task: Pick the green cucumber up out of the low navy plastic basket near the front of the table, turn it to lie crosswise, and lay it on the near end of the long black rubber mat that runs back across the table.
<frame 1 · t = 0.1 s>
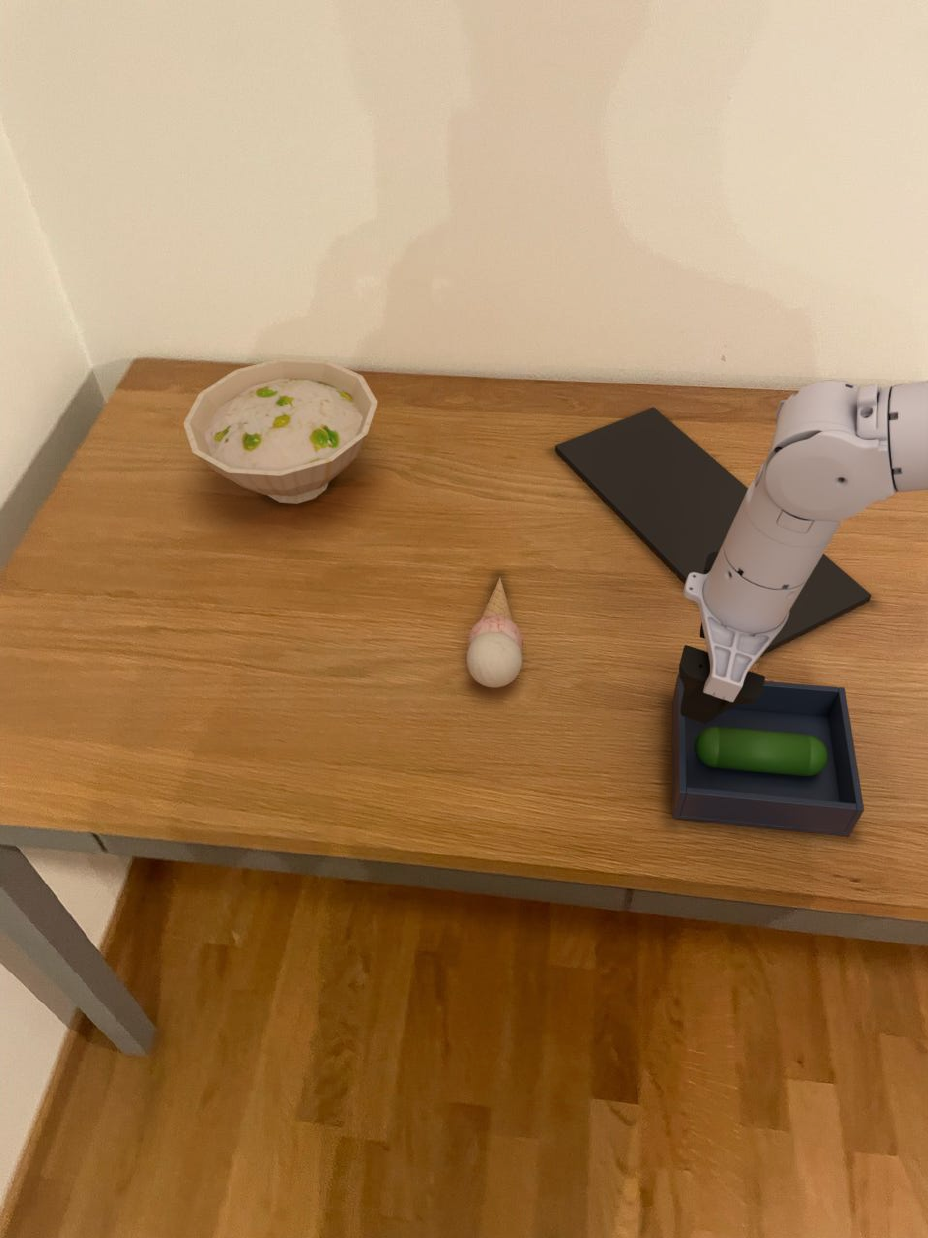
hand: (704, 675, 70), 8 cm above the table, tool pointing down, fingers open, 7 cm apart
bowl: (297, 482, 99), on the table
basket: (755, 765, 73), on the table
ice cream cone: (503, 640, 83), on the table
cucumber: (760, 751, 72), point 2 cm above the table, touching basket
mat: (625, 451, 99), on the table
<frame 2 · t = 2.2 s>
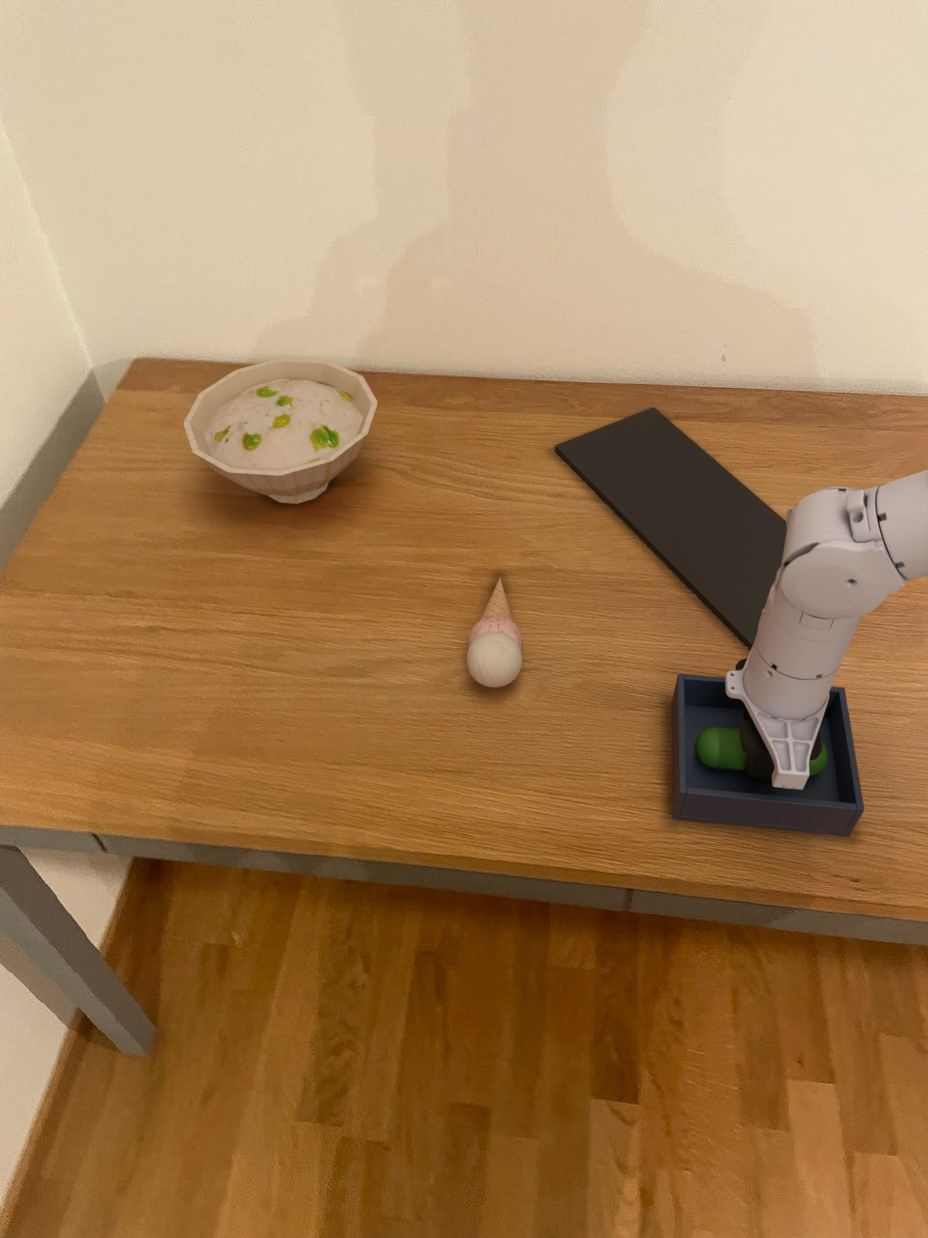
hand: (758, 756, 72), 1 cm above the table, tool pointing down, fingers closed on cucumber, 3 cm apart
cucumber: (760, 751, 72), point 2 cm above the table, touching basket, gripper
everything else where it was.
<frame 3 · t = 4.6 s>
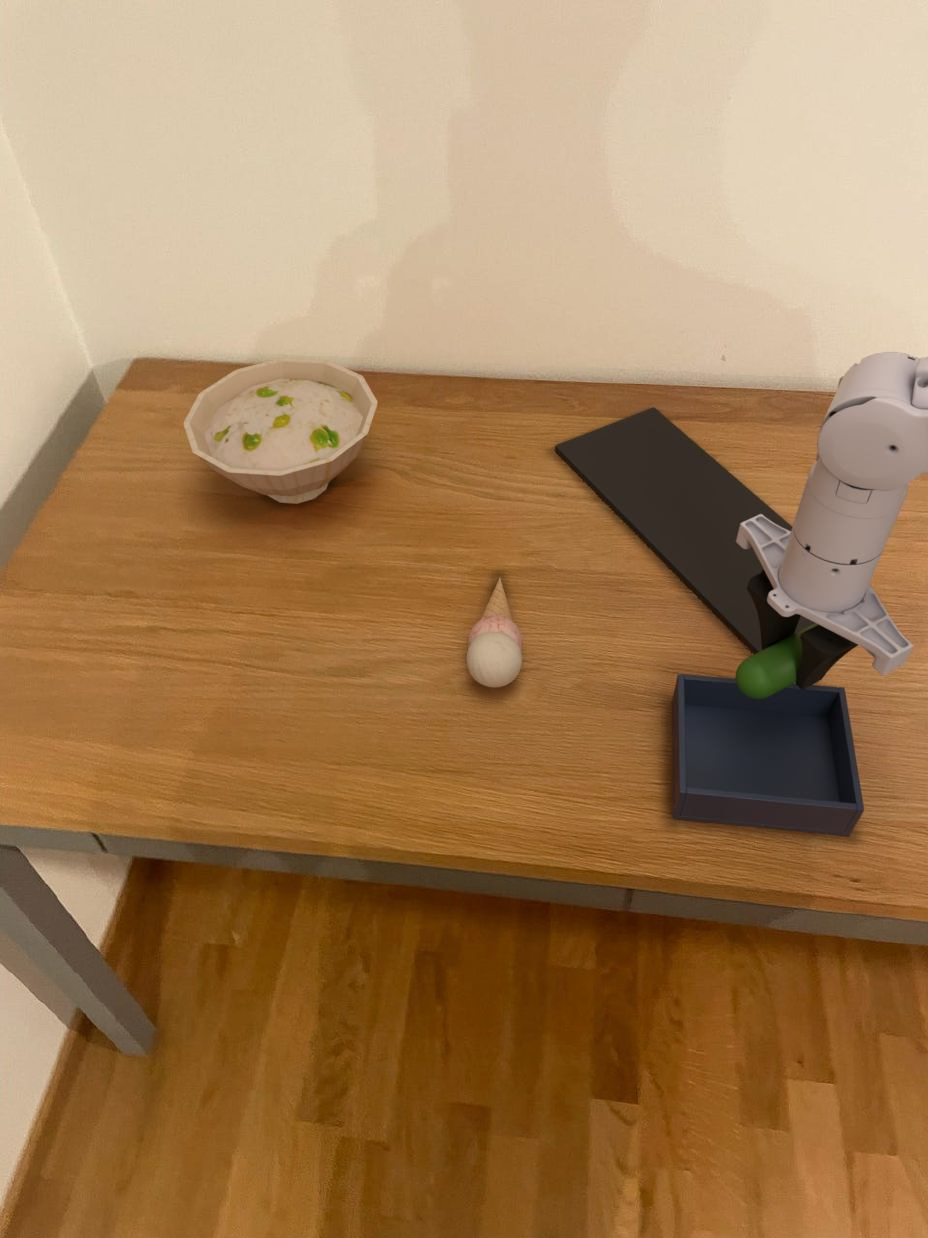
hand: (791, 663, 70), 8 cm above the table, tool pointing down, fingers closed on cucumber, 3 cm apart
cucumber: (793, 658, 69), point 9 cm above the table, touching gripper
everything else where it was.
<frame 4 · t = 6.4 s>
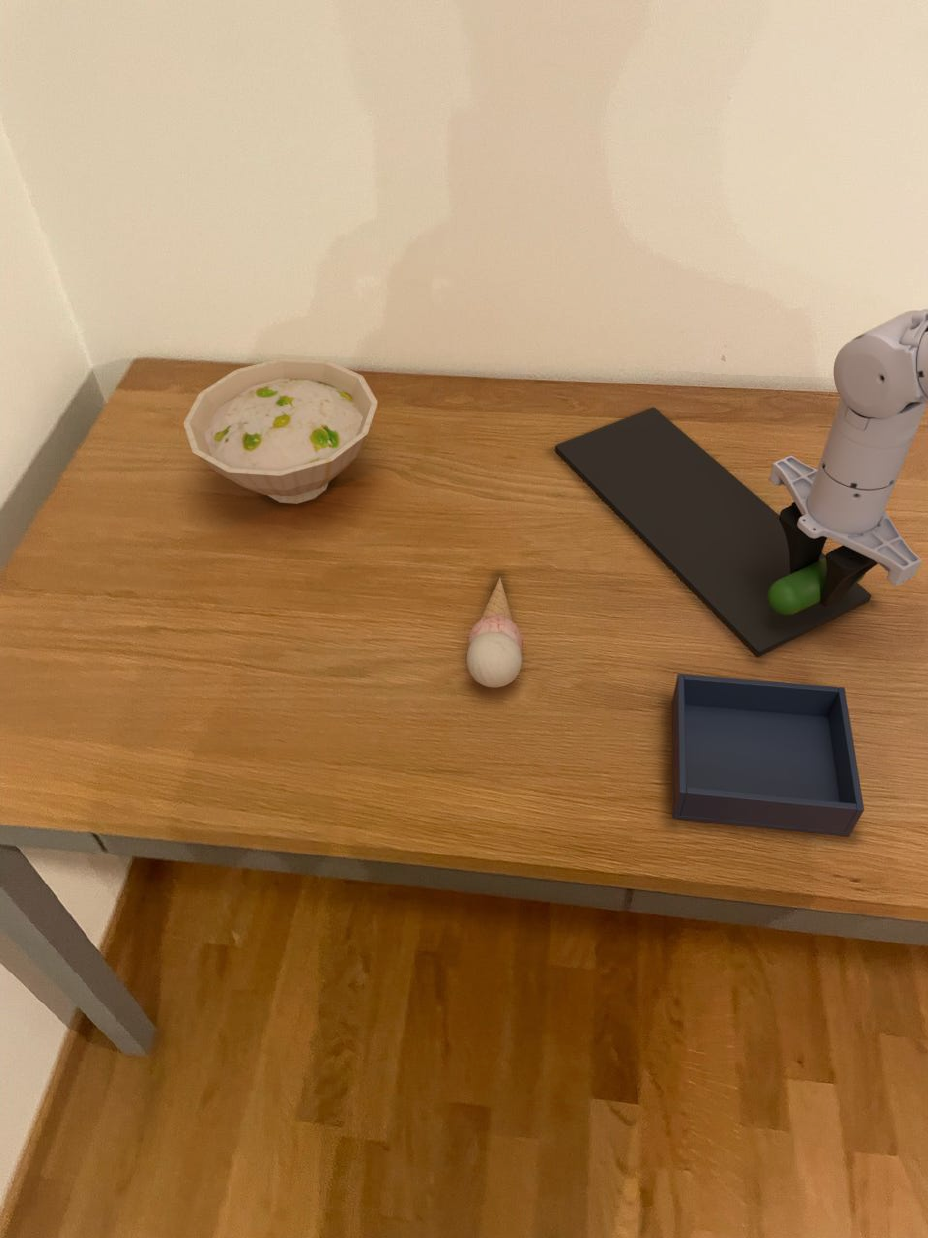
hand: (815, 586, 81), 4 cm above the table, tool pointing down, fingers closed on cucumber, 3 cm apart
cucumber: (817, 581, 80), point 4 cm above the table, touching gripper
everything else where it was.
when the fingers open (2 cm above the table, at t = 7.3 s): cucumber stays where it is, resting on mat.
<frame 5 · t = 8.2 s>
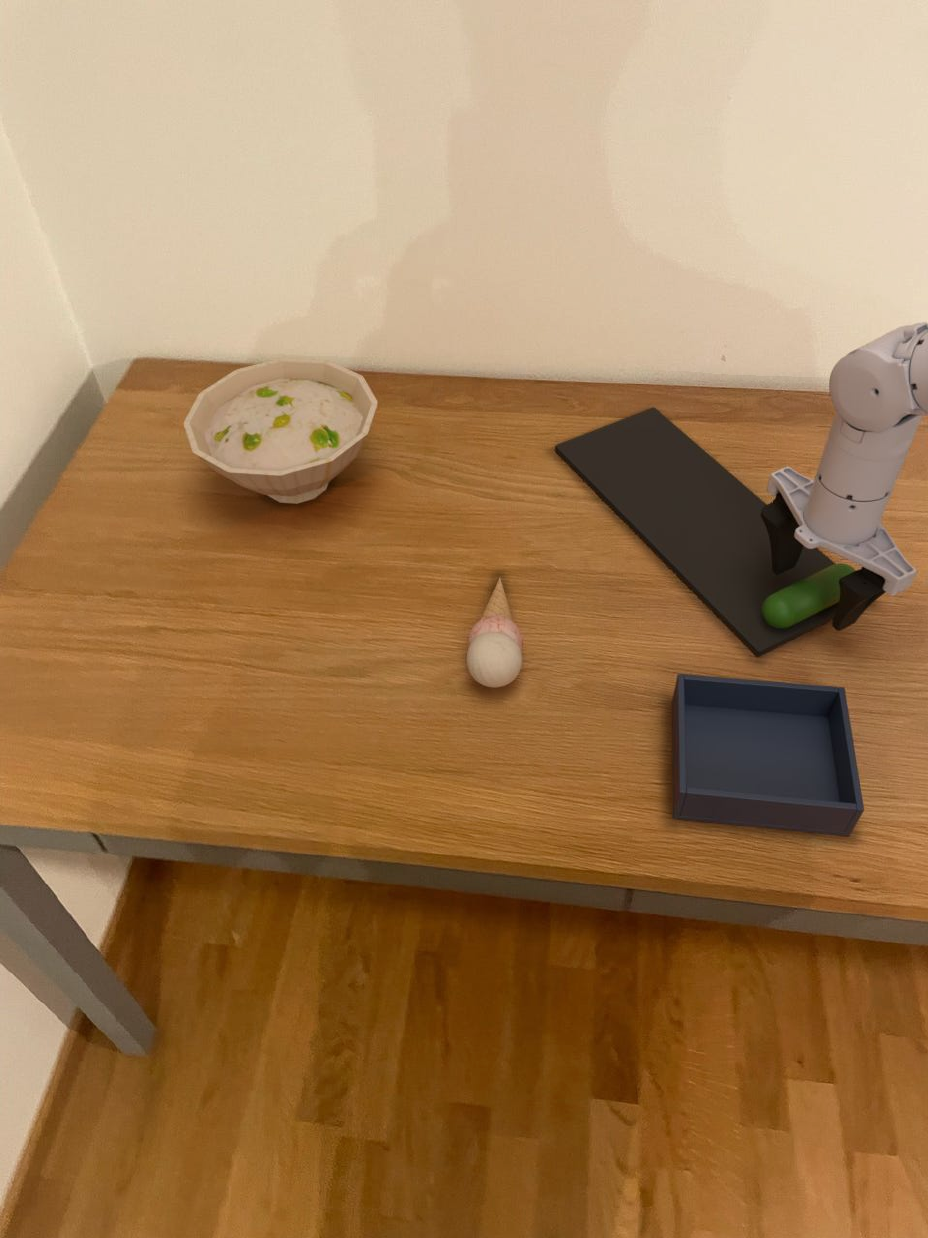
hand: (812, 595, 82), 2 cm above the table, tool pointing down, fingers open, 7 cm apart
cucumber: (810, 595, 82), point 2 cm above the table, tilted 5°, touching mat
everything else where it was.
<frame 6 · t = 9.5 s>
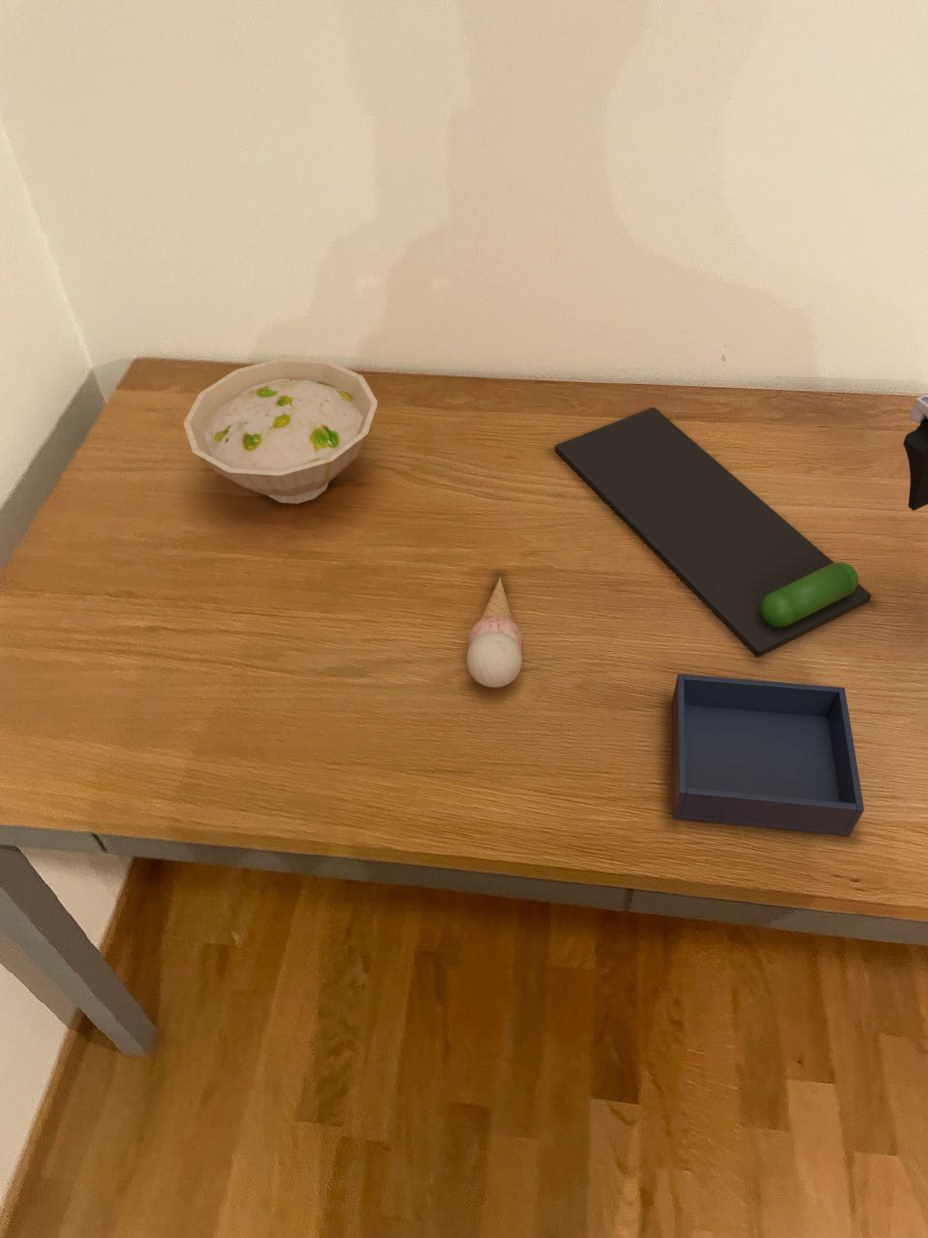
cucumber: (809, 594, 82), point 2 cm above the table, tilted 11°, touching mat
everything else where it was.
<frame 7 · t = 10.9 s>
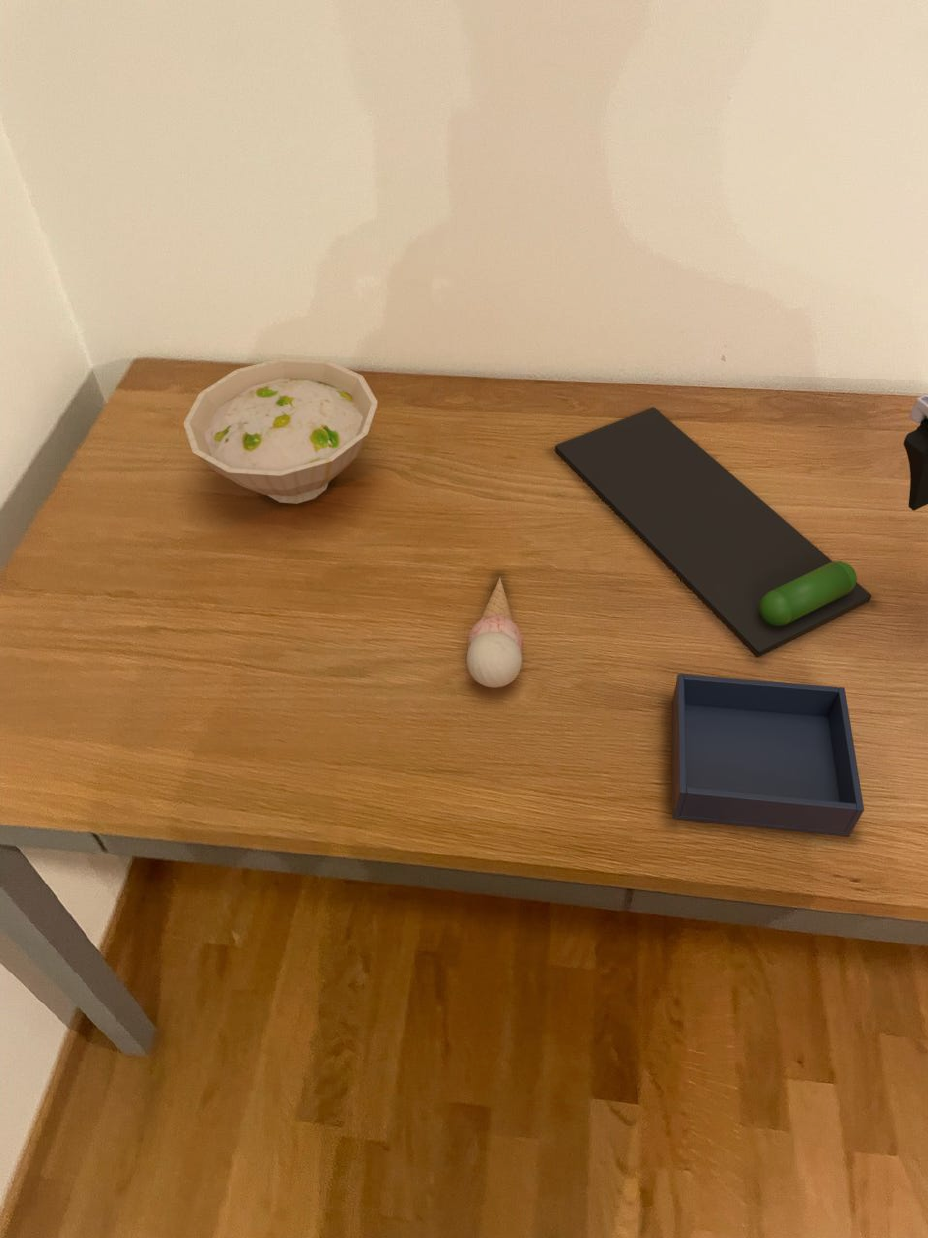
cucumber: (808, 593, 82), point 2 cm above the table, tilted 18°, touching mat
everything else where it was.
at the end: cucumber inside the target area on the mat (0.3 cm from its centre), point 2.4 cm above the mat's base; cucumber touching mat; the gripper is holding nothing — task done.
